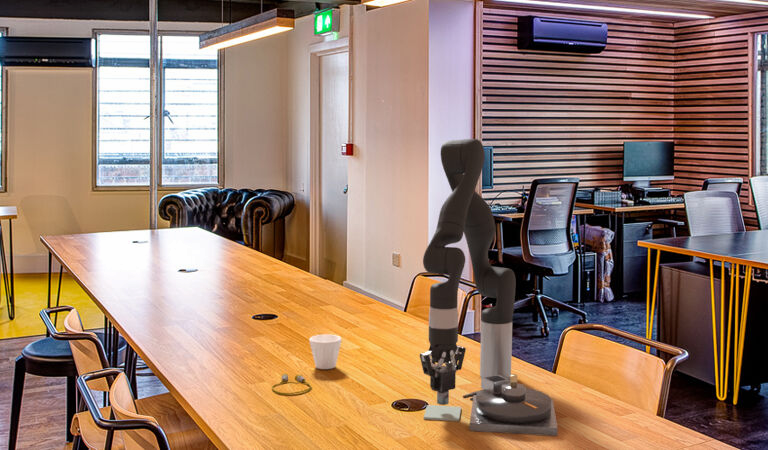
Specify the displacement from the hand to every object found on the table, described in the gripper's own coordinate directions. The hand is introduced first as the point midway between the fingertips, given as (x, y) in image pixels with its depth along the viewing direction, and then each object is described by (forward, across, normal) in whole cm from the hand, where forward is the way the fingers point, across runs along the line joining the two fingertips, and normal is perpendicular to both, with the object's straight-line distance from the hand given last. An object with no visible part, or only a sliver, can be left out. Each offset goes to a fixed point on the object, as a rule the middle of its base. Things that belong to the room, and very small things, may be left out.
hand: (442, 388), depth 202 cm
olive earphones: (+8, +20, -42) cm, 48 cm away
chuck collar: (+5, -13, +12) cm, 18 cm away
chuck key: (+4, 0, 0) cm, 4 cm away
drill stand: (+7, -13, +13) cm, 19 cm away
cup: (+7, +3, -53) cm, 53 cm away
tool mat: (+7, 0, 0) cm, 7 cm away
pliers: (+7, -23, -5) cm, 25 cm away
